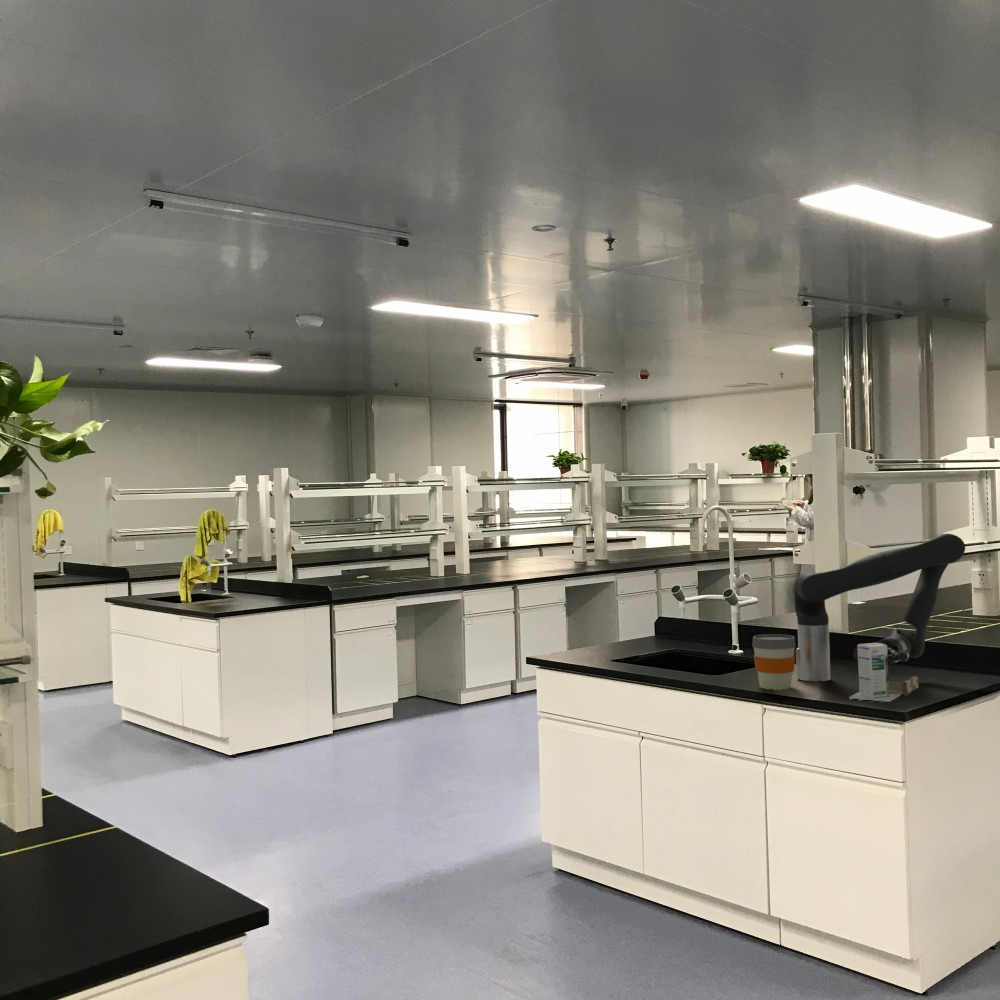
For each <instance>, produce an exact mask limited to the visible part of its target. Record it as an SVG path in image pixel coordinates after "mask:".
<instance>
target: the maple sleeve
mask: <svg viewBox="0 0 1000 1000" xmlns="http://www.w3.org/2000/svg"><path fill="white" fill-rule="evenodd" d="M916 688H918V689H919V676H918V675H913V676H911V677H909V678H908V679H906V680H904V681H893V680H891V681H890V680H889V692H890V693H898V694H908V693H910V692H911V691H913V690H914V689H916ZM916 690H917V689H916ZM914 691H915V690H914ZM914 691H913V692H914ZM911 693H912V692H911ZM911 693H910V694H911ZM908 695H909V694H908Z"/></svg>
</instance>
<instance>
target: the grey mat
mask: <svg viewBox="0 0 1000 1000" xmlns="http://www.w3.org/2000/svg"><path fill="white" fill-rule="evenodd" d="M899 696H900V697H901V695H900V694H889V696H886V697H876V698H870V697H866V696H863V695H860V691H858V692H856V693H854V694H853V695H850V696H849V698H848V699H849V700H852V699H858V700H857V701H862V700H874V701H885V702H891V701H892V700H894V699H896V698H897V697H899ZM900 697H899V698H900ZM897 699H898V698H897ZM897 699H896V700H897ZM894 701H895V700H894ZM891 703H892V702H891Z"/></svg>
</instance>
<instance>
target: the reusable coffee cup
mask: <svg viewBox="0 0 1000 1000" xmlns="http://www.w3.org/2000/svg"><path fill="white" fill-rule="evenodd" d="M752 647H753V652H754V655H753V661H754V665H755V666H754V667H755V671H756V672H757V675H758V676H757V677H758V683H759V688H760V687H761V689H763V688H764V689H765V690H769V689H773V690H772V691H774V690H775V691H783V689H784V690H789V689H791V687H792V679H793V672H794V671H795V664H796V655H795V650H796V649H795V648H797V647H796V638H795V636H793V635H789V634H775V633H774V634H773V633H771V634H768V633H767V634H757V635H753V637H752ZM764 689H763V690H764Z"/></svg>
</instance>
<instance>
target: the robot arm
mask: <svg viewBox="0 0 1000 1000" xmlns="http://www.w3.org/2000/svg"><path fill="white" fill-rule="evenodd" d="M965 551H966V545H965V542H964V541H963V539H962V538H961V537H959V536H958V535H955V534H952V533H943V534H939V535H935V536H932V537H931V539H929V540H927V541H925V542H921V543H919V544H916V545H911V546H906V547H899V548H893V549H889V550H884V551H880V552H876V553H873V554H869V555H866V556H864V557H861V558H859V559H857V560H855V561H853V562H851V563H850V564H847V565H845V566H843V567H840V568H837V569H832V570H828V571H823V572H815V571H805V572H802V573H800V574H799V575H798V576H797V577H796V578H795V581H794V590H793V592H794V611H795V615H796V621H797V642H798V643H797V646H798V647H796V649H795V664H796V680H799V679H800V680H801V681H804V682H814V683H815V682H816V683H817V682H819V681H821V682H828V680H829V681H830V680H831V659H830V658H831V657H830V656H831V655H830V654H831V652H830V651H831V650H830V629H829V627H830V625H829V622H830V621H829V615H828V613H827V609H826V600H829V599H830V598H834V597H836V596H838V595H841V594H843V593H846V592H849V591H854V590H859V589H864V588H868V587H872V586H876V585H880V584H883V583H887V582H891V581H893V580H897V579H899V578H902V577H905V576H908V575H910V574H912V573H915V572H918V571H919V570H920V573H919V577H918V579H917V581H916V584H915V588H914V591H913V593H912V596H911V597H910V599H909V602H908V605H907V607H906V610H905V612H904V614H903V621H905V623H907V624H908V625H910V626H912V627H913V628H914V629H915V633H913V632H910V631H908V630H904V629H901V628H894V629H893V630H891V631H890V633H889V635H888V637H884V638H883V639H880V640H878V641H877V642H876V643H882V644H885V645H887V655H888V666H892V665H894V664H896V663H898V662H901V663H905V662H907V661H908V660H910V658H912V659H918V658H919V657H920V656H922V655H923V653H924V651H925V646H926V633H927V628H928V624H929V622H930V618H931V616H932V614H933V611H934V609H935V606H936V602H937V597H938V589H939V585H940V581H941V579H942V577H943V574H944V572H945V570H946V569H947V567H948V565H950V564H954V563H957V562H958V561H959V560H960V559H962V557H963V556H964V554H965ZM853 659H854V660H856V661H857V662H858V647H857V648H855V649H853Z"/></svg>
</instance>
